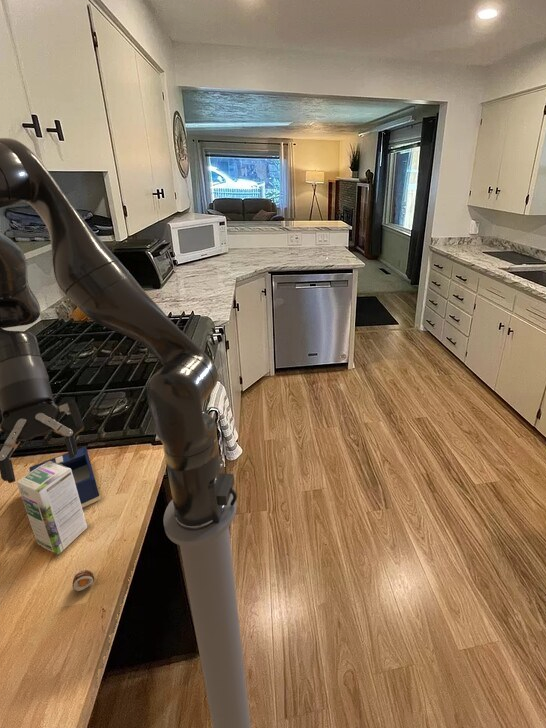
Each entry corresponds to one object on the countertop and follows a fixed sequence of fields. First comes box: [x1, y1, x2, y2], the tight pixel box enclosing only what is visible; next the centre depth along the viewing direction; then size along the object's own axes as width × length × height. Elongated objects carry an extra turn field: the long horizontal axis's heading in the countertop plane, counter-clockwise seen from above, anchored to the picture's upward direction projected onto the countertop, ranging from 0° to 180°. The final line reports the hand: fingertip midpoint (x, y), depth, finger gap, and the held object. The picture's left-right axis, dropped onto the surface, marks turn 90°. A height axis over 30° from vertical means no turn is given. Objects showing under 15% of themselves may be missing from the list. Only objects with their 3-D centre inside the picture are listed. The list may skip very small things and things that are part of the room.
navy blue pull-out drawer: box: [28, 445, 101, 509], centre depth 73 cm, size 12×10×7 cm
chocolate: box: [71, 568, 96, 592], centre depth 57 cm, size 3×2×4 cm
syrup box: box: [16, 461, 88, 555], centre depth 63 cm, size 6×6×14 cm
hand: (43, 469), depth 63 cm, fingers open, 8 cm apart
